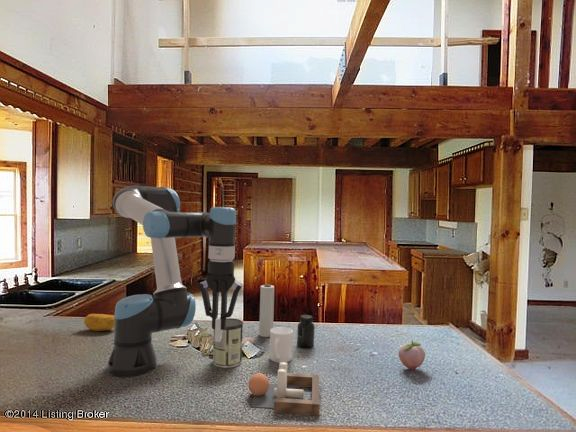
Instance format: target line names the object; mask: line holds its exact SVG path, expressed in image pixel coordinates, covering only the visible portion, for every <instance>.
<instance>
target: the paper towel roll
mask: <svg viewBox="0 0 576 432" xmlns="http://www.w3.org/2000/svg"><path fill="white" fill-rule="evenodd" d="M259 289H260V292H259V293H260V298H259V324H258V325H259V327H258V328H259V330H258V334H259V335H258V336H260V337H263V338H270V330H271V329H272V328H274V318H275V317H274V315H275V313H274V312H275V307H274V306H275V286H274V285H272V284H263V285H260V288H259Z"/></svg>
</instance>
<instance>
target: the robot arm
mask: <svg viewBox="0 0 576 432" xmlns="http://www.w3.org/2000/svg"><path fill="white" fill-rule="evenodd" d="M112 207H113V210H114V211H115V212H116V213H117V214H118V215H120V216H121V217H122V218H125V219H126V218H127V219H132V220H134V221H135V222H137V223H138V224H140V225H141V226H142V230H143V232H144V235H145V236H146V237H147V238H150V243H151V250H152V252H151V253H152V259H153V265H154V274H155V283H156V290H155V291H154V292H153V295H152V294H148V293H142V294H139V293H138V294H132V295H129V296H126V297H123V298H121V299H119V300H118V301H117V302H116V304H115V309H114V314H113V315H114V318H115V324H114V328H113V329H114V332H113V348H112V350H111V353H110V356H109V359H108V361H107V369H106V370H107V373H108V374H109V375H112V376H115V377H126V378H127V377H136V376H140V375H144V374H147V373H149V372H151V371H153V370H154V369H155V368H156V367H157V361H158V360H157V355H156V352H155V349H154V346H153V343H152V342H153V341H152V340H153V339H152V337H153V334H154V333H159V332H163V331H169V330H173V329H174V330H175V329H177V330H178V329H180V328H184V327H187V326H189V325H191V324H192V322H193V320H194V318H195V315H196V311H197V309H196V308H197V307H196V305H197V304H196V300H195V299H196V298H195V297H194V295H193V294H192V293H190V292H188V290H187V289H188V288H187V287H186V286H185V285H183V283H182V278H181V270H180V263H179V258H178V250H177V245H176V244H177V243H176V238H208V259H209V260H208V262H207V275H206V278H205V280H204V281H201V282H200V283H198V285H197V287H198V289H199V290H200V292H201V297H202V302H203V303H202V304H203V306H204V312H205V316H206V317H210V318H211V329H212V330H214V329H215V342H220V341H221V339H222V330H224V329H225V327H226V318H231V317H232V315H233V313H234V310H235V306H236V302H237V300H238V296H239V292H240V291H241V289H242V288H243V284H242V283H239V282H237V281H236V278H235V262H234V259H235V255H236V253H235V252H236V246H235V244H236V232H237V231H236V228H237V226H236V225H237V217H236V216H237V215H236V213H237V212H236V209H235V208H234V207H224V206H222V207H221V206H213V207H211V208H210V211H209V212H205V211H197V212H191V211H190V212H187V211H186V212H185V211H183V212H181V211H180V210H181V209H180V208H181V200H180V197H179V195H178V193H177V192H176V190H174V189H173V188H170V187H165V186H148V185H147V186H145V185H128V186H125V187H123V188H121V189H120V190H118V191H117V192H116V193H115V194H114V196H113V198H112ZM208 286H209V287H210V289H211V290H212V292H211V295H212V303H211V300H210V295H209V294H210V293H209V289H208ZM232 286H233V287H232ZM231 288H232V289H233V291H232V296H231V299H230V303H229V306H228V293H229V290H230V289H231ZM219 295H220V297H221V299H220V316H219V298H220V297H219Z"/></svg>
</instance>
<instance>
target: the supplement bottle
mask: <svg viewBox="0 0 576 432" xmlns="http://www.w3.org/2000/svg"><path fill="white" fill-rule="evenodd" d="M313 321H314V320H313V315H310V314H301V315H300V319H299V322H298V324H297V332H296V333H297V334H296V335H297V336H296V346H297V347H298V348H299V349H303V350H308V349H313V348H314V346H315V331H316V330H315V328H316V326H315V324H314V323H313Z"/></svg>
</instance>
